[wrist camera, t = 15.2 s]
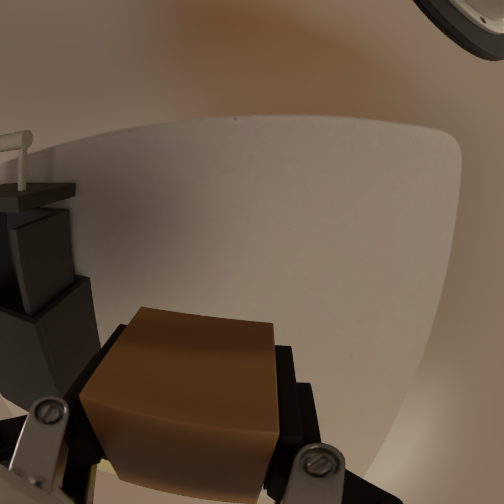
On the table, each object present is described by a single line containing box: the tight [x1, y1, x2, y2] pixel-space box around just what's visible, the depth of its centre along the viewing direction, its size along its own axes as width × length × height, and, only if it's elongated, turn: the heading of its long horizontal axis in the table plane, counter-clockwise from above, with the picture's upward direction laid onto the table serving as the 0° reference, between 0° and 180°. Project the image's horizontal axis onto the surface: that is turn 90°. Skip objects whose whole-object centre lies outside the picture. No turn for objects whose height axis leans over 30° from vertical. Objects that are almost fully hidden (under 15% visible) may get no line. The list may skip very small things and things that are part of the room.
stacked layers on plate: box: [97, 459, 116, 474], centre depth 32 cm, size 10×9×6 cm
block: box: [79, 307, 280, 504], centre depth 8 cm, size 4×4×4 cm
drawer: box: [0, 130, 76, 318], centre depth 20 cm, size 18×11×8 cm, turn 174°
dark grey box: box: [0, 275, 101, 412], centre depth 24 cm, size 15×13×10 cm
